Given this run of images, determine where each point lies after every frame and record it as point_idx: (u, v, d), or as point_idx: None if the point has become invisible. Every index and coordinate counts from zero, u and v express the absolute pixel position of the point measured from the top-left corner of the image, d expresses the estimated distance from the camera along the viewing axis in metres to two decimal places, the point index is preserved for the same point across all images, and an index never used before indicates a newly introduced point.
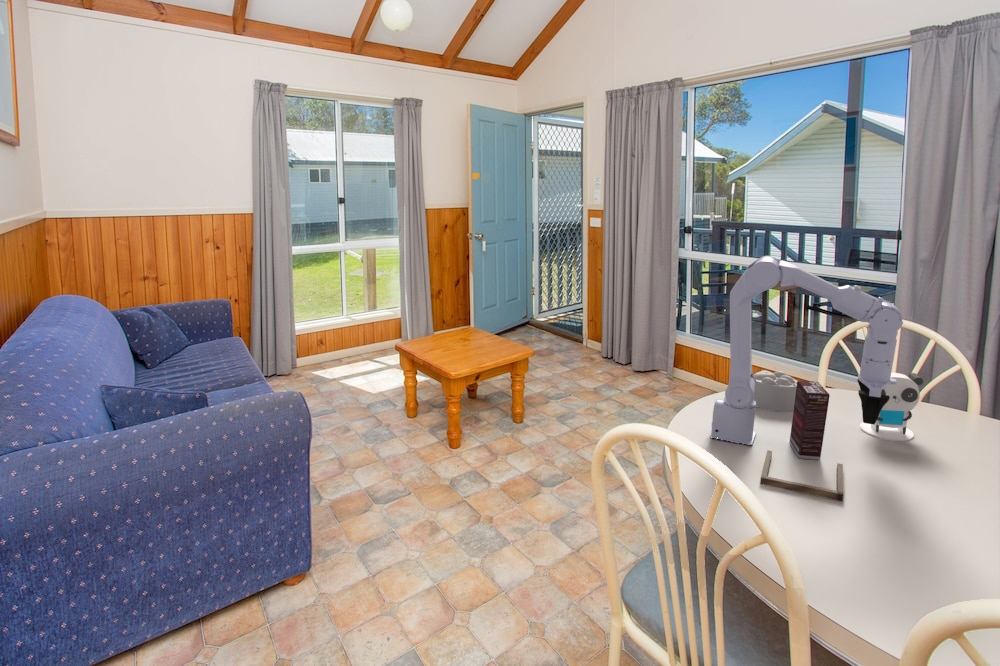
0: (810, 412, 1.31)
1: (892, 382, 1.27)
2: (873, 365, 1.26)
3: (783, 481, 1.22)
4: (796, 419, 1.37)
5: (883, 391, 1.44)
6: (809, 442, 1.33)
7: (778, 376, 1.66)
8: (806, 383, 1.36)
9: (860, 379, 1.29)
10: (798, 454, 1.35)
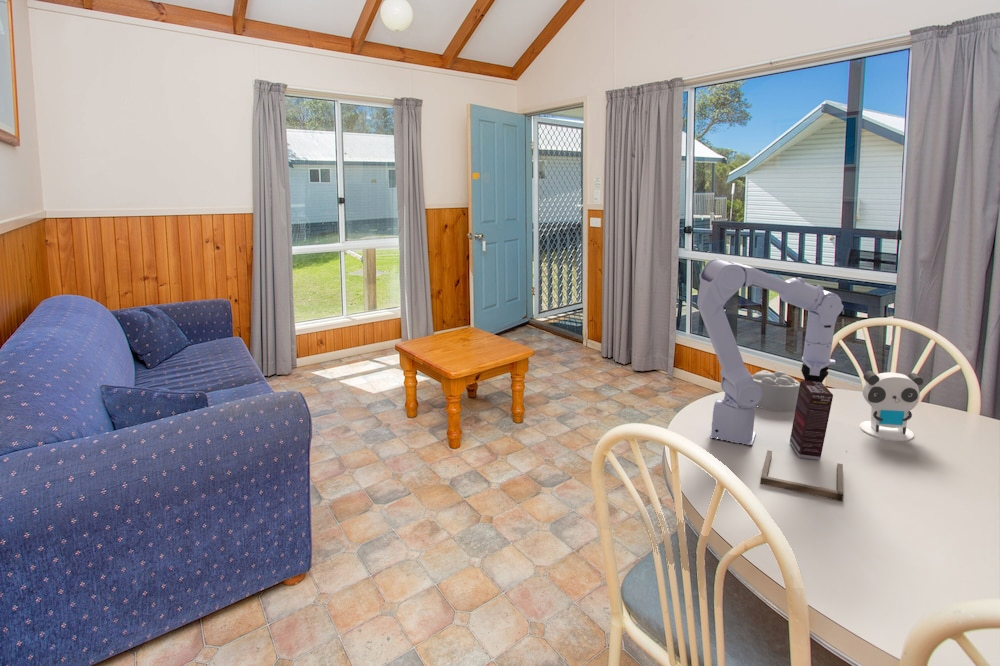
0: (813, 411, 1.31)
1: (831, 362, 1.39)
2: (814, 347, 1.38)
3: (783, 481, 1.22)
4: (798, 418, 1.37)
5: (883, 391, 1.44)
6: (810, 442, 1.33)
7: (778, 376, 1.66)
8: (810, 383, 1.36)
9: (803, 360, 1.41)
10: (798, 453, 1.35)
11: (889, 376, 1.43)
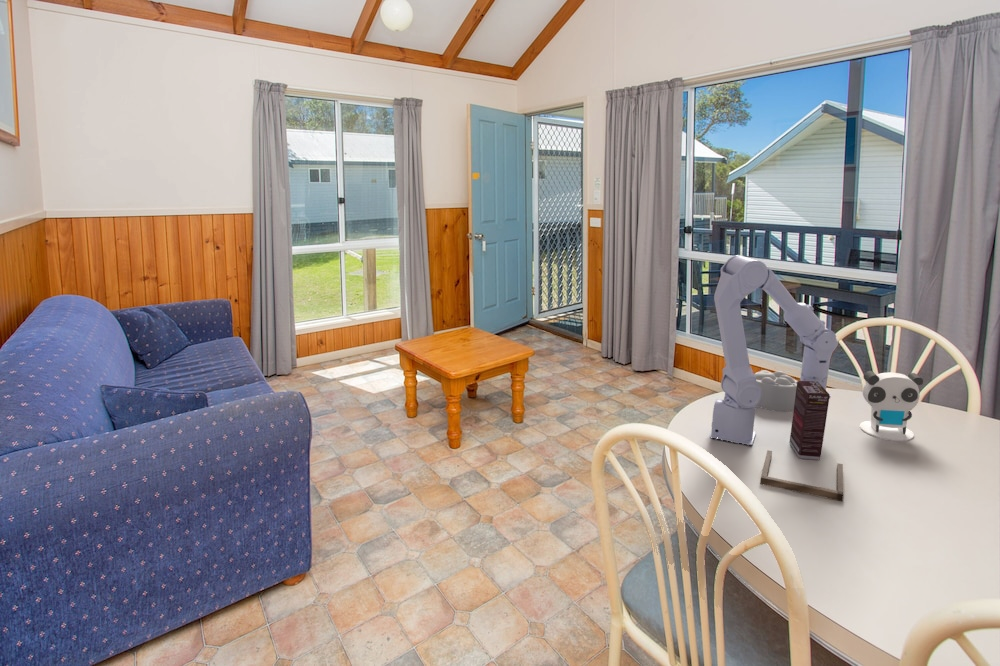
0: (810, 412, 1.31)
1: None
2: None
3: (783, 481, 1.22)
4: (796, 419, 1.37)
5: (883, 391, 1.44)
6: (809, 442, 1.33)
7: (778, 376, 1.66)
8: (806, 383, 1.36)
9: None
10: (798, 454, 1.35)
11: (889, 376, 1.43)
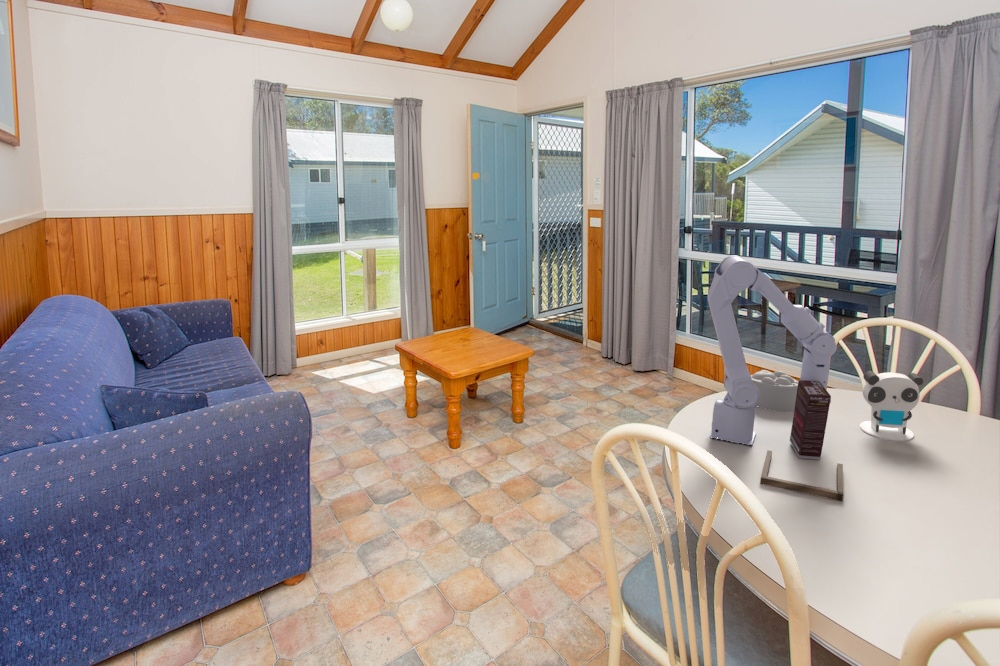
0: (811, 413, 1.31)
1: None
2: None
3: (783, 481, 1.22)
4: (797, 419, 1.37)
5: (883, 391, 1.44)
6: (809, 443, 1.33)
7: (777, 376, 1.66)
8: (808, 383, 1.35)
9: None
10: (798, 454, 1.35)
11: (889, 376, 1.43)
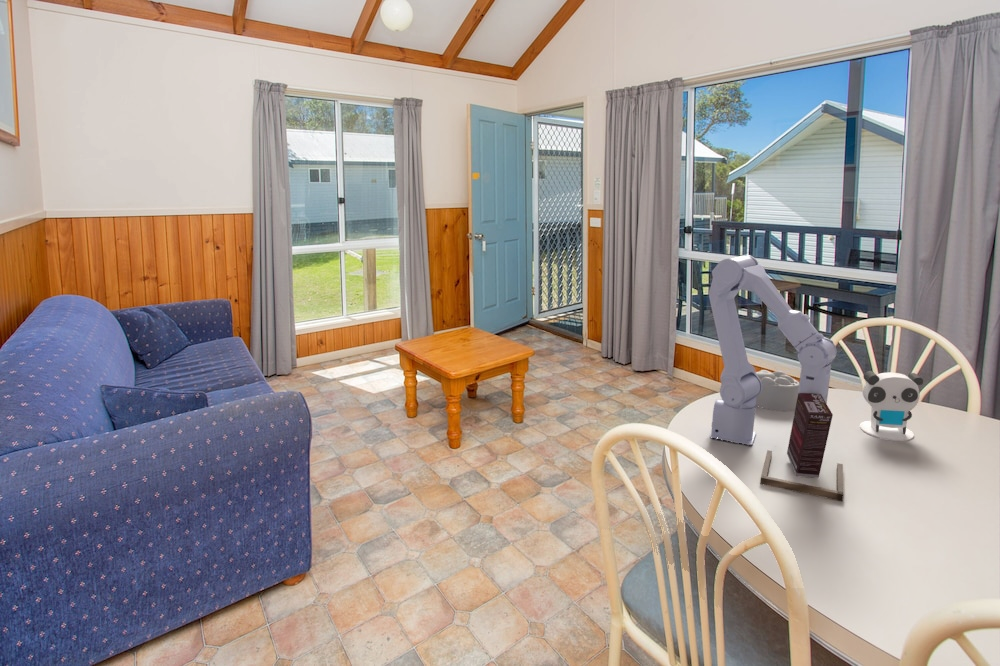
0: (811, 431, 1.22)
1: None
2: None
3: (783, 481, 1.22)
4: (795, 434, 1.28)
5: (883, 391, 1.44)
6: (808, 461, 1.25)
7: (777, 376, 1.66)
8: (808, 397, 1.26)
9: None
10: (795, 471, 1.27)
11: (889, 376, 1.43)
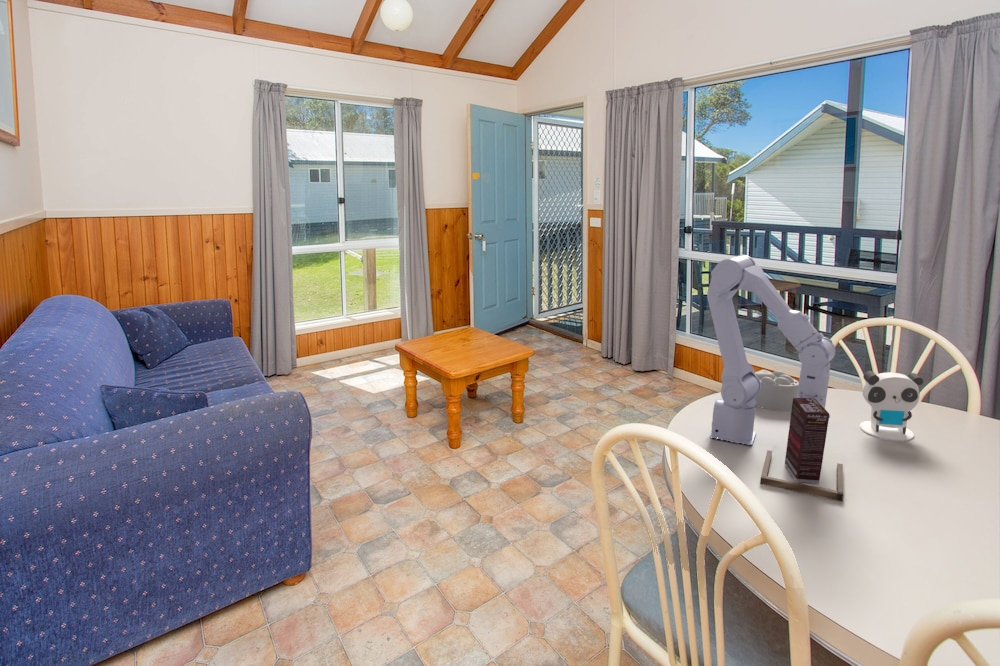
0: (809, 432, 1.21)
1: None
2: None
3: (783, 481, 1.22)
4: (792, 439, 1.27)
5: (883, 391, 1.44)
6: (807, 465, 1.23)
7: (777, 375, 1.66)
8: (803, 400, 1.26)
9: None
10: (795, 478, 1.25)
11: (889, 376, 1.43)
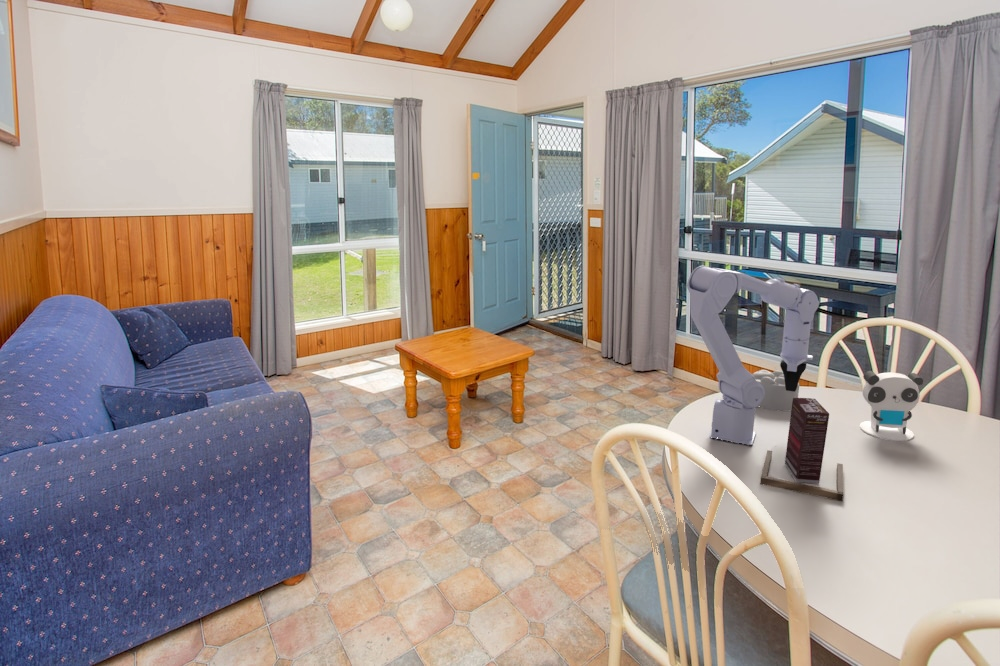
0: (809, 432, 1.21)
1: (809, 358, 1.42)
2: (791, 344, 1.42)
3: (783, 481, 1.22)
4: (792, 439, 1.27)
5: (883, 391, 1.44)
6: (807, 465, 1.23)
7: (777, 375, 1.66)
8: (803, 400, 1.26)
9: (781, 356, 1.45)
10: (795, 478, 1.25)
11: (889, 376, 1.43)
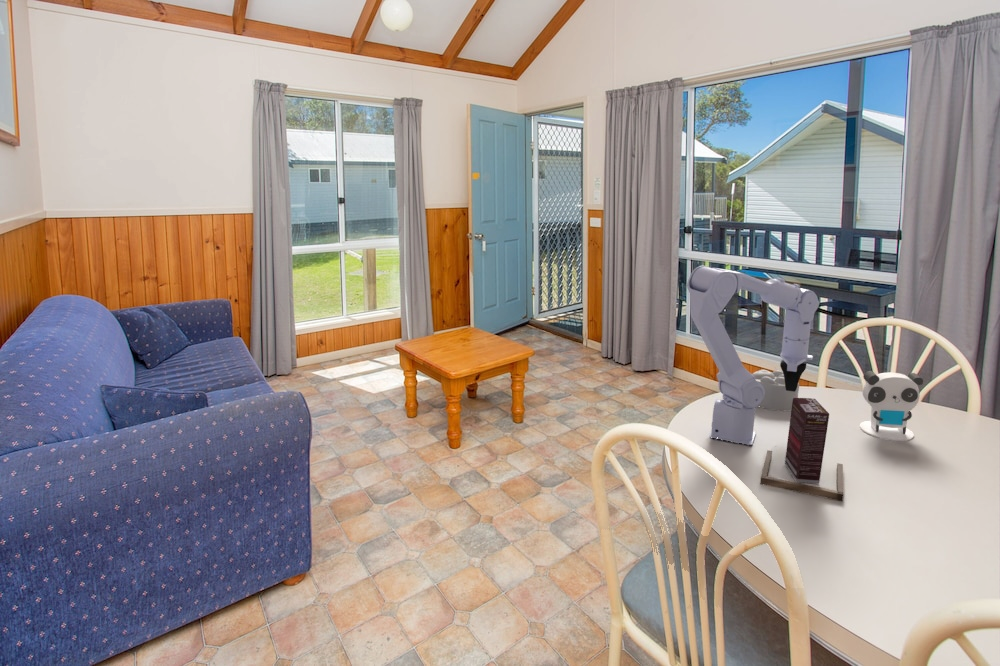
0: (809, 432, 1.21)
1: (809, 358, 1.42)
2: (791, 344, 1.42)
3: (783, 481, 1.22)
4: (792, 439, 1.27)
5: (883, 391, 1.44)
6: (807, 465, 1.23)
7: (776, 375, 1.66)
8: (803, 400, 1.26)
9: (781, 356, 1.45)
10: (795, 478, 1.25)
11: (889, 376, 1.43)
